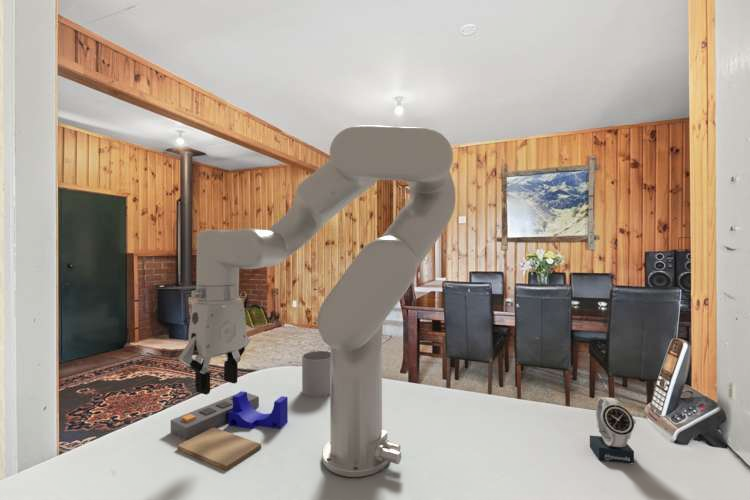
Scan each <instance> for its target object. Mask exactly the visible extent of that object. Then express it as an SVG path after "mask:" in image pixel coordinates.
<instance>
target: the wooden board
mask: <svg viewBox="0 0 750 500" xmlns="http://www.w3.org/2000/svg"><path fill="white" fill-rule="evenodd" d="M176 445H177V447H176V448H177V449H176V450H178V451H180V452H182V453H183V454H187V455H189V456H192V457H194V458H196V459H198V460H201V461H203V462H205V463H208V464H211V465H212V466H215V467H217V468H220V469H222V470H224V471H228V470H230V469H232V468H233V467H235V466H236V465H237V464H239V463H240V462H242V461H244V460H245V459H246V458H248V457H250V456H251V455H253V454H254V453H256V452H258V451H259V450H261V449H262V443H259V442H256V441H254V440H251V439H249V438H245V437H243V436H240V435H237V434H234V433H231V432H229V431H226V430H223V429H220V428H217V427H213V428H211V429H209V430H207V431H205V432H203V433H201V434H199V435H197V436H195V437H193V438H191V439H189V440H187V441H186V440H184V441H183V442H181V443H180V444H176Z"/></svg>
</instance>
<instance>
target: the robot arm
mask: <svg viewBox="0 0 750 500" xmlns="http://www.w3.org/2000/svg"><path fill="white" fill-rule="evenodd" d="M453 154H454V153H453V148H452V146H451V144H450V141H449V140H448V138H447V137H445V136H444V135H443V134H442V133H441V132H438V131H436V130H434V129H430V128H427V127H426V128H425V127H414V126H413V127H409V126H390V125H389V126H387V125H356V126H355V125H354V126H349V127H346V128H344V129H343V130H341V131H340V132H338V133H337V134H336V135H335V137H334V138H333V140H332V142H331V144H330V146H329V160H328V161H326V162H325V163H324V164H322V165H321V166H320V167H318V168H317V169H316V170H315V171H314V172H312V173H311V174H310V175H309V176H307V177H306V178H304V179H303V180H302V181H301V182H300V183H299V184H297V187H296V188H295V194H294V200H293V203H292V205H291V207H290V209H289V210H288V211H287V213H285V214H284V215H283V216H282V217H281V218H280V219H279V220H278V221H277V222H275V223H273V224H272V225H271V226H269V228H267V229H264V228H262V229H261V228H251V227H250V228H249V227H248V228H239V229H233V230H229V229H203V230H200V231H199V232H198V234H197V236H196V286H195V290H191V293H190V295H191V297H192V298H194V299H196V302H193V305H192V307H191V314H190V317H189V318H190V319H189V327H188V337H187V338H188V340H187V342H188V343H187V345H185V347H184V349H183V350H182V352H181V353H180V354H179V356H178V361H180V362H181V363H183V364H184V365H186V366H187V367H188V368H190V369H191V370H192V372H195V392H197V393H199V394H202V395H208V394H210V393H211V373H210V372H209V371H208V369H209V366H210V362H211V360H212V358H213V359H214V358H216V357H219V356H222V355H224V356H225V357H226V360H225V361H224V362H223V365H224V366H223V381H224V382H226V383H231V384H237V383H238V369H239V367H238V366H239V365H238V363H239V362H241V357H242V355H243V354H244V352H245V350H246V348H247V347H248V346H249V344H250V342H251V339H250V338H249V336H248V335H247V321H246V320H247V319H246V311H245V306H244V302H243V301H244V300H243V299H242V298H240V297H239V296H240V295H239V294H240V291H239V290H240V284H239V283H240V269H244V270H255V269H262V268H271V267H274V266H277V265H280V264H281V263H283V262H284V261H286V260H287V259H288V258H289V257H290V256H292V255H293V254H294V253H296V252H297V251H298V250H301V248H302V247H303V246H304V245H306V244H307V243H308V242H310V240H311V239H312V238H313V237H314V236H315V235H316V234H317V233H318V232H319V231H320V230H322V228H323V227H324V226H325V225H326V223H327V222H328V221H329V220H331V219H332V218H333V217H334V216H335V215H337V214H338V213H340V211H342V210H343V209H344V208H346V207H347V206H349V204H351V203H352V202H353V201H354V200H356V199H357V198H358V197H359V196H361V195H362V194H363V193H365V192H366V191H367V190H368V189H370V188H371V187H373V185H375V184H376V183H377V182H378V181H379V180H386V181H402V182H405V184H407V186H408V188H409V191H410V193H409V198H408V200H407V201H406V203H405V204H404V206H403V207H402V208H401V210H400V211H399V212H398V214H397V215H396V216H395V218H394V220H393V221H392V223H391V224H390V225H389V227H388V228H387V229H386V230H385V232H384V233H383V234H382V236H381V237H378V238H374V239H373V240H371V241H370V242H368V243H367V244H366V245H364V247H363V248H362V249H361V250H360V251H359V252H358V253H357V255H356V257H355V258H354V259H353V260H352V262H351V263H350V265H348V267H347V269H346V270H345V271H344V273H343V274H342V275H341V277H340V279H338V281H337V282H336V284H335V285H334V286H333V288H332V289H331V290H330V292H329V293H328V294H327V296H326V298H324V301H323V302H322V303H321V305H320V307H319V308H318V313H317V318H316V319H317V320H316V323H317V325H316V326H317V330H318V332H319V333H318V334H319V336H320V337H321V339H322V340H323V342H324V343H325V344H326V345H327V346H329V347H330V352H331V357H330V394H329V396H330V399H329V403H330V404H329V405H330V407H329V408H330V409H329V411H330V415H329V416H330V419H329V420H330V425H329V427H330V428H329V429H330V440H329V441H328V442H327V443H325V445H324V446H323V448H322V452H321V453H322V454H321V460H322V463H323V466H325V468H326V469H327V470H329V471H330V472H332V473H334V474H336V475H340V476H342V477H349V478H350V477H351V478H358V477H365V476H366V477H367V476H370V475H371V476H372V475H373V474H375V473H378V472H380V471H381V470H383V469H384V468H385V467H386V466H387V465H388V464H389V463H392V464H395V465H400V463H401V460H402V452H401V445H400V444H398V443H394V442H390V441H389V440H388V431H386V430H383V330H384V321H385V320H386V319H387V318H388V316H389V315H390V314H391V312H392V311H393V309H395V307H396V306H397V304H398V303H399V302H400V301H401V299H402V298H403V297H404V295H405V294H406V292H407V291H408V289H409V288H410V286H411V285H412V284H413V281H414V280H415V278H416V275H417V271H418V269H419V267H420V266H421V264H422V263H423V261H424V260H425V258H426V257H427V256H428V254H429V253H430V252H431V250H432V249H433V247H434V246H435V244H436V243H437V241H438V240H439V238H440V237H441V235H442V234H443V232H444V231H445V230H446V228H447V226H448V224H449V223H450V221H451V219H452V216H453V214H454V211H455V207H456V187H455V183H454V180H453V176H452V175H451V171H450V170H451V168H452V165H453V159H454V158H453V157H454V156H453ZM192 356H195V357H194V358H193V357H192Z"/></svg>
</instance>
